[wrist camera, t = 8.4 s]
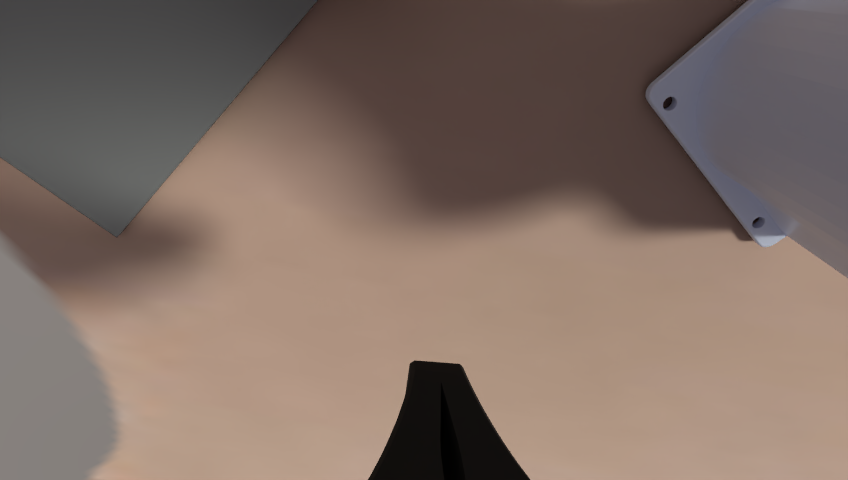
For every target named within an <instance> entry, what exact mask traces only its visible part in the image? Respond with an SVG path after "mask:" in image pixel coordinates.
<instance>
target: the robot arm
mask: <svg viewBox="0 0 848 480" xmlns="http://www.w3.org/2000/svg"><path fill="white" fill-rule="evenodd" d="M668 97H672V99H673V100H672V103H671V105H670V106H669V107H667V108H663V102H664V101H665V99H666V98H668ZM646 99H647V101H648V103H649V104H650V105H651V107H652V108H653V109H654V111H655V112H656V113H657V115H658V116H659V117H660V118H661V120H662V121H663V122H664V124H665V125H666V126H667V128H668V129H669V130H670V132H671V133H672V134H673V135H674V137H675V138H676V139H677V141H678V142H679V143H680V145H681V146H682V147H683V149H684V150H685V151H686V152H687V154H688V155H689V156H690V158H691V159H692V160H693V162H694V163H695V164H696V166H697V167H698V168H699V169H700V171H701V172H702V173H703V175H704V176H705V177H706V179H707V180H708V181H709V183H710V184H711V185H712V187H713V188H714V189H715V190H716V192H717V193H718V194H719V196H720V197H721V198H722V200H723V201H724V202H725V204H726V205H727V206H728V207H729V209H730V210H731V211H732V213H733V214H734V215H735V217H736V218H737V219H738V221H739V222H740V223H741V224H742V226H743V227H744V228H745V230H746V231H747V232H748V234H749V235H750V236H751V238H752V239H753V240H754V241H755V242H756V243H757V244H759V245H760V246H761V247H770V246H772V245H774V244H775V243H777V242H778V241H780V240H781V239H783V238H784V237H786V236H788V237H790V238H791V239H792V240H794V241H795V242H797V243H798V244H800V245H801V246H802V247H804V248H805V249H807V250H808V251H810V252H811V253H813V254H814V255H815V256H817V257H818V258H820V259H821V260H823V261H824V262H825V263H827V264H828V265H830V266H831V267H833V268H834V269H835V270H837V271H838V272H840V273H841V274H843V275H844V276H845V277H847V278H848V0H748V1H746V2H745V3H744V4H743V5H742V6H741V7H739V8H738V9H737V10H736V11H735V12H734V13H732V14H731V15H730V16H729V17H728V18H727V19H725V20H724V21H723V22H722V23H721V24H720V25H718V26H717V27H716V28H715V29H714V30H712V31H711V32H710V33H709V34H708V35H707V36H705V37H704V38H703V39H702V40H701V41H700V42H698V43H697V44H696V45H695V46H694V47H693V48H691V49H690V50H689V51H688V52H687V53H685V54H684V55H683V56H682V57H681V58H680V59H678V60H677V61H676V62H675V63H674V64H673V65H671V66H670V67H669V68H668V69H667V70H666V71H664V72H663V73H662V74H661V75H660V76H659V77H657V78H656V79H655V80H654V81H653V82H651V84H650V85H649V86H648V88H647V90H646ZM758 217H759V220H758V221H757V222H756V223H754V224H752V223H753V221H754V220H755V219H756V218H758ZM368 480H530V479H529V477H528V476H527V475H526V473H525V472H524V471H523V469H522V468H521V467H520V465H519V464H518V463H517V461H516V460H515V458H514V457H513V456H512V454H511V453H510V451H509V450H508V448H507V447H506V445H505V444H504V442H503V441H502V439H501V438H500V436H499V434H498V433H497V431H496V430H495V428H494V426H493V425H492V423H491V421H490V420H489V418H488V416H487V414H486V413H485V411H484V409H483V407H482V406H481V404H480V402H479V400H478V398H477V396H476V394H475V392H474V390H473V388H472V386H471V384H470V382H469V380H468V378H467V376H466V373H465V371H464V369H463V367H462V366H461V365H460V364H453V363H440V362H427V361H413V362H412V363H410V366H409V373H408V380H407V387H406V394H405V398H404V401H403V404H402V407H401V410H400V413H399V416H398V419H397V421H396V424H395V426H394V428H393V431H392V433H391V435H390V438H389V440H388V442H387V444H386V447H385V449H384V451H383V453H382V455H381V457H380V459H379V461H378V463H377V464H376V466H375V468H374V470H373V472H372V474H371V476H370V477H369V479H368Z"/></svg>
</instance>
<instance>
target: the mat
mask: <svg viewBox="0 0 848 480" xmlns="http://www.w3.org/2000/svg"><path fill="white" fill-rule="evenodd" d="M317 1H318V0H0V157H1V158H2V159H4V160H5V161H7V162H8V163H9V164H11V165H12V166H14V167H15V168H17V169H18V170H20V171H21V172H23V173H24V174H25V175H27V176H28V177H30V178H31V179H33V180H34V181H36V182H37V183H38V184H40V185H41V186H43V187H44V188H46V189H47V190H49V191H50V192H52V193H53V194H54V195H56V196H57V197H59V198H60V199H62V200H63V201H65V202H66V203H67V204H69V205H70V206H72V207H73V208H75V209H76V210H78V211H79V212H81V213H82V214H83V215H85V216H86V217H88V218H89V219H91V220H92V221H94V222H95V223H97V224H98V225H99V226H101V227H102V228H104V229H105V230H107V231H108V232H110V233H111V234H112V235H114V236H115V237H118V236H119V235H120V234H121V233H122V231H123V230H124V229H125V228H126V227H127V225H128V224H129V223H130V222H131V221H132V220H133V218H134V217H135V216H136V215H137V214H138V212H139V211H140V210H141V209H142V208H143V207H144V205H145V204H146V203H147V202H148V201H149V199H150V198H151V197H152V196H153V195H154V194H155V192H156V191H157V190H158V189H159V188H160V186H161V185H162V184H163V183H164V182H165V181H166V179H167V178H168V177H169V176H170V175H171V173H172V172H173V171H174V170H175V169H176V167H177V166H178V165H179V164H180V163H181V162H182V160H183V159H184V158H185V157H186V156H187V154H188V153H189V152H190V151H191V150H192V149H193V147H194V146H195V145H196V144H197V143H198V141H199V140H200V139H201V138H202V137H203V136H204V134H205V133H206V132H207V131H208V130H209V128H210V127H211V126H212V125H213V124H214V123H215V121H216V120H217V119H218V118H219V117H220V115H221V114H222V113H223V112H224V111H225V110H226V108H227V107H228V106H229V105H230V104H231V102H232V101H233V100H234V99H235V98H236V96H237V95H238V94H239V93H240V92H241V91H242V89H243V88H244V87H245V86H246V85H247V83H248V82H249V81H250V80H251V79H252V78H253V76H254V75H255V74H256V73H257V72H258V70H259V69H260V68H261V67H262V66H263V65H264V63H265V62H266V61H267V60H268V59H269V57H270V56H271V55H272V54H273V53H274V52H275V50H276V49H277V48H278V47H279V46H280V44H281V43H282V42H283V41H284V40H285V38H286V37H287V36H288V35H289V34H290V33H291V31H292V30H293V29H294V28H295V27H296V25H297V24H298V23H299V22H300V21H301V20H302V18H303V17H304V16H305V15H306V14H307V12H308V11H309V10H310V9H311V8H312V7H313V5H314V4H315V3H316V2H317Z"/></svg>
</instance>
